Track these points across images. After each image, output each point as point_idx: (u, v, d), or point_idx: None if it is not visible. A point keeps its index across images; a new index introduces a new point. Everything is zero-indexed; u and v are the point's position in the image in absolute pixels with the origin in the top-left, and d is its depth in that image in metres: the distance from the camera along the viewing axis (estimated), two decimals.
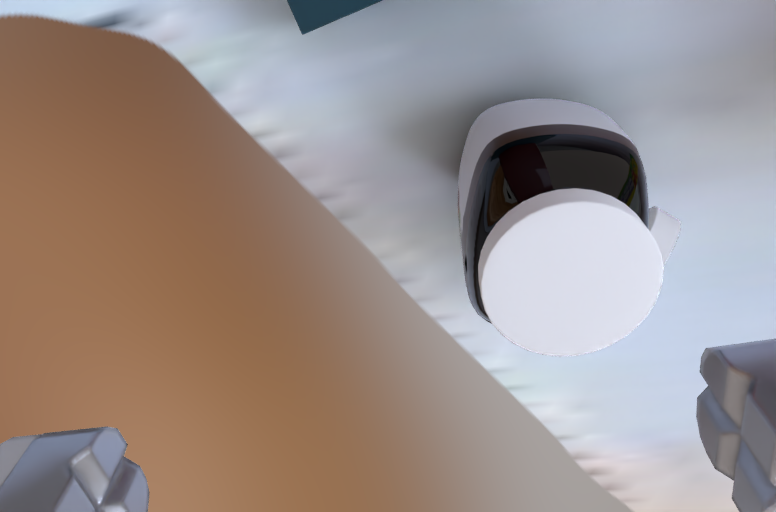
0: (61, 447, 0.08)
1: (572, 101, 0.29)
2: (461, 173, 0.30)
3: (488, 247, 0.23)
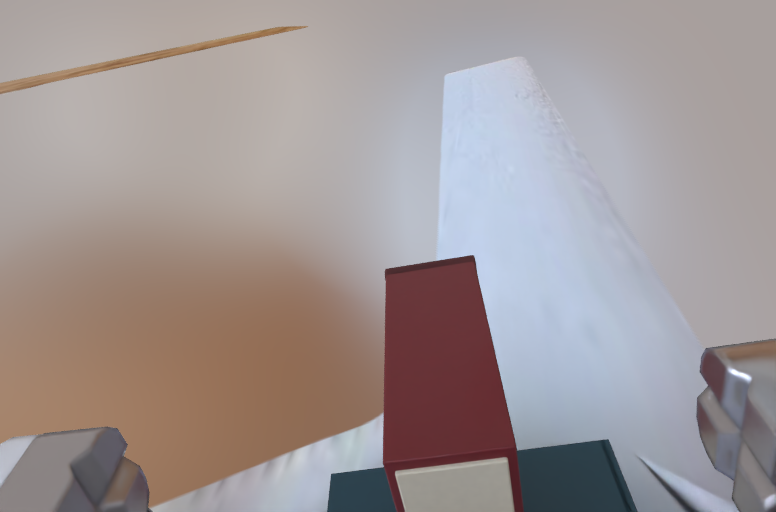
0: (61, 447, 0.08)
1: None
2: None
3: None
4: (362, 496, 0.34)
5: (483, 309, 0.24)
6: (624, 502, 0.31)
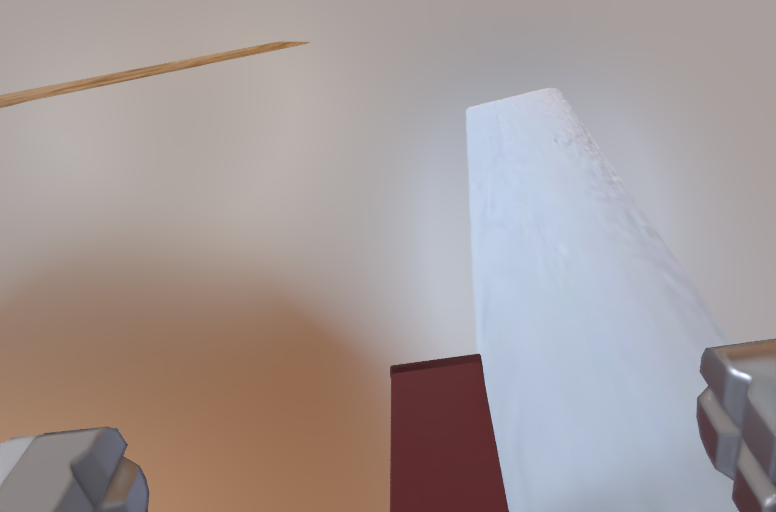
0: (61, 447, 0.08)
1: None
2: None
3: None
4: None
5: (490, 423, 0.23)
6: None
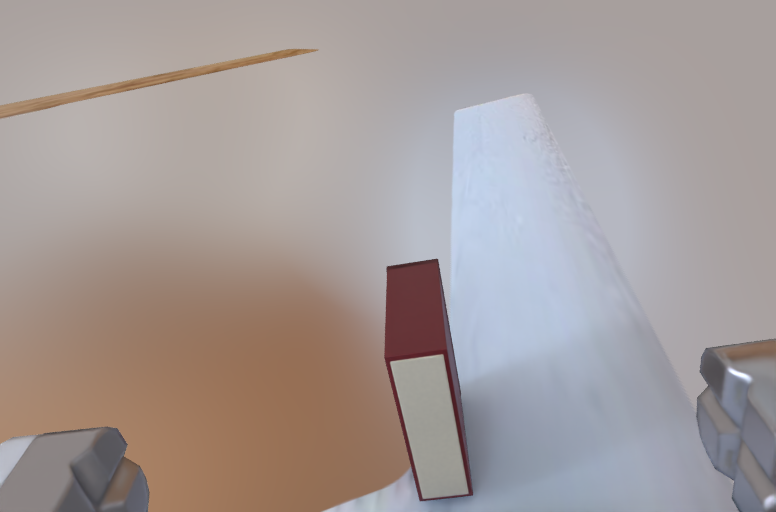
0: (61, 447, 0.08)
1: None
2: None
3: None
4: None
5: (439, 288, 0.44)
6: None
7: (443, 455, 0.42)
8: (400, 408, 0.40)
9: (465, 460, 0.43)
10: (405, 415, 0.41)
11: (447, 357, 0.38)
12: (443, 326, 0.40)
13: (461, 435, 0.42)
